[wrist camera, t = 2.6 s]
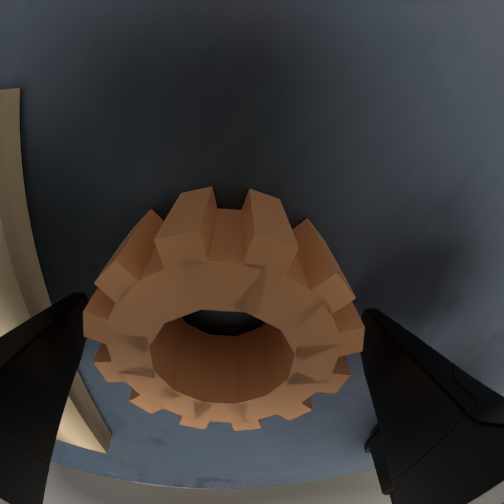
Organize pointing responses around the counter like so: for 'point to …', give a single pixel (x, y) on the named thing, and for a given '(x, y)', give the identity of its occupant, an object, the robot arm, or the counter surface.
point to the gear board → (33, 276)
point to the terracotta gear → (224, 299)
